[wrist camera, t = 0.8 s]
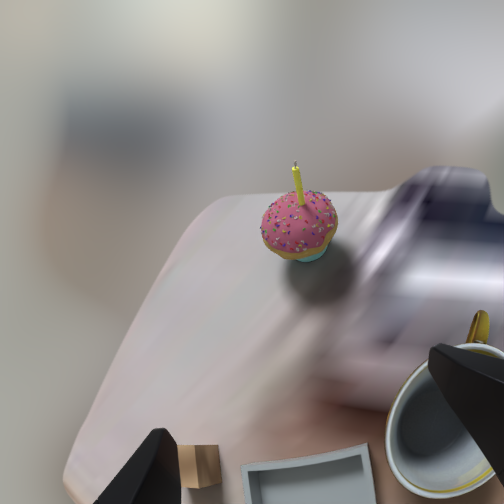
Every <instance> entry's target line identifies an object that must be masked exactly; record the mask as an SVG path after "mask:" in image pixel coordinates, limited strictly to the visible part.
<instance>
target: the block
mask: <svg viewBox="0 0 504 504" xmlns="http://www.w3.org/2000/svg"><path fill="white" fill-rule="evenodd" d="M177 447H178V458H179V468H180V477H181V487H188V488H203V487H207V486H211V485H215V484H219V483H222V477H221V468H220V460H219V450H218V445H177Z"/></svg>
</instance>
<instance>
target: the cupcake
mask: <svg viewBox="0 0 504 504" xmlns="http://www.w3.org/2000/svg"><path fill="white" fill-rule="evenodd" d="M292 172H293V177H294V181H295V186H296V192H295V191H293V192H291V193H289V192H288V194H284V196H281V197H280V198H279V199H277V200H276V201H275V202H274V203H272V204H271V206H269V208H268V210H267V211H266V212H265V214H264V215H263V220H262V225H261V227H260V229H261V231H262V233H261V234H262V237H263V241H264V243H265V245H266V246H267V247H268V248H269V249H270V250H271V251H273V252H274V253H276V254H278V255H279V256H280V257H282V258H283V259H289V260H294V259H296V260H298V261H302V262H310V261H314V260H316V259H318V258H319V257H321V256H322V255H323V254H324V252H325V251H326V249H327V246H328V243H329V242H330V241H331V239H332V237H333V236H334V234H335V232H336V230H337V226H338V217H337V213H336V210H335V208H334V206H333V205H332V203H331V200H329V199H328V198H327V196H326V195H324V194H323V193H321V194H320V193H319V192H316V191H315V192H314V191H311V190H310V191H308V190H305V191H303V188H302V182H301V177H300V172H299V168H298V167H297V165H296V160H295V161H294V167H293V168H292Z"/></svg>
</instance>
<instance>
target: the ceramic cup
mask: <svg viewBox="0 0 504 504" xmlns="http://www.w3.org/2000/svg"><path fill="white" fill-rule="evenodd" d="M488 335H489V316H488V314H487V312H485V311H483V310H479V311H478V312H477V313H476V314H475V316H474V318H473V321H472V324H471V327H470V330H469V334H468V337H467V340H466V343H465V344H459V345H455V346H454V347H457V348H461V349H465V350H469V351H473V352H477V353H481V354H484V355H488V356H492V357H497V358H501V359H504V352H502V351H501V350H499V349H497V348H495V347H492V346H490V345H486V343H487V339H488ZM384 445H385V454H386V459H387V462H388V465H389V467H390V470H391V471H392V473H393V475H394V476H395V478H396V479H397V480H398V482H399V483H400V484H401V485H402V486H403V487H405V488H406V489H407V490H409V491H410V492H412V493H414V494H416V495H419V496H422V497H426V498H433V499H444V498H451V497H456V496H459V495H462V494H465V493H468V492H470V491H472V490H474V489H476V488H477V487H479V486H481V485H482V484H484V483H485V482H487V481H488V480H489V479H490V478H491V477H493V476H494V475H495V474H496V473H495V472H494V470H493V469H492V467H491V465H490V464H489V462H488V461H487V459H486V458H485V456H484V455H483V453H482V452H481V450H480V449H479V447H478V446H477V444H476V443H475V441H474V440H473V438H472V437H471V435H470V434H469V432H468V431H467V429H466V428H465V427H464V425H463V424H462V422H461V421H460V420H459V418H458V417H457V415H456V414H455V413H454V411H453V410H452V408H451V407H450V406H449V404H448V403H447V401H446V400H445V398H444V396H443V395H442V393H441V391H440V389H439V388H438V386H437V384H436V382H435V381H434V379H433V377H432V376H431V374H430V372H429V370H428V359H427V360H426V361H424V362H423V363H422V364H421V365H420V366H419V367H418V368H416V369H415V370H414V372H413V373H412V374H411V375H410V376H409V377H408V378H407V380H406V381H405V382H404V384H403V385H402V387H401V388H400V390H399V392H398V393H397V395H396V397H395V399H394V401H393V403H392V406H391V409H390V411H389V414H388V418H387V422H386V427H385V437H384Z"/></svg>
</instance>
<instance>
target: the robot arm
mask: <svg viewBox="0 0 504 504" xmlns="http://www.w3.org/2000/svg"><path fill="white" fill-rule="evenodd" d="M428 370H429V372H430V374H431V376H432V377H433V379H434V381H435V382H436V384H437V386H438V388H439V389H440V391H441V393H442V395H443V396H444V398H445V400H446V401H447V403H448V404H449V406H450V407H451V408H452V410H453V411H454V413H455V414H456V415H457V417H458V418H459V420H460V421H461V422H462V424H463V425H464V427H465V428H466V429H467V431H468V432H469V434H470V435H471V437H472V438H473V440H474V441H475V443H476V444H477V446H478V447H479V449H480V450H481V452H482V453H483V455H484V456H485V458H486V459H487V461H488V462H489V464H490V465H491V467H492V469H493V470H494V472H495V473H496V475H497V476H498V478H499V480H500V482H501V483H502V485H503V487H504V359H501V358H497V357H492V356H488V355H484V354H481V353H477V352H473V351H469V350H465V349H461V348H457V347H454V346H450V345H446V344H443V343H439V344H437V345H435V346H433V347H431V349H430V351H429V358H428ZM93 504H181V477H180V468H179V458H178V447H177V444H176V442H175V440H174V439H173V437H172V436H171V435H170V433H169V432H168V430H167V429H165V428H156V429H153V430H152V431H151V432H150V433H149V435H148V436H147V437H146V439H145V440H144V441H143V442H142V444H141V445H140V446H139V447H138V449H137V450H136V451H135V453H134V454H133V455H132V456H131V458H130V459H129V460H128V461H127V463H126V464H125V465H124V466H123V468H122V469H121V470H120V471H119V473H118V474H117V475H116V476H115V477H114V479H113V480H112V481H111V482H110V484H109V485H108V486H107V487H106V489H105V490H104V491H103V492H102V493H101V495H100V496H99V497H98V500H95V502H94V503H93Z"/></svg>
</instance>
